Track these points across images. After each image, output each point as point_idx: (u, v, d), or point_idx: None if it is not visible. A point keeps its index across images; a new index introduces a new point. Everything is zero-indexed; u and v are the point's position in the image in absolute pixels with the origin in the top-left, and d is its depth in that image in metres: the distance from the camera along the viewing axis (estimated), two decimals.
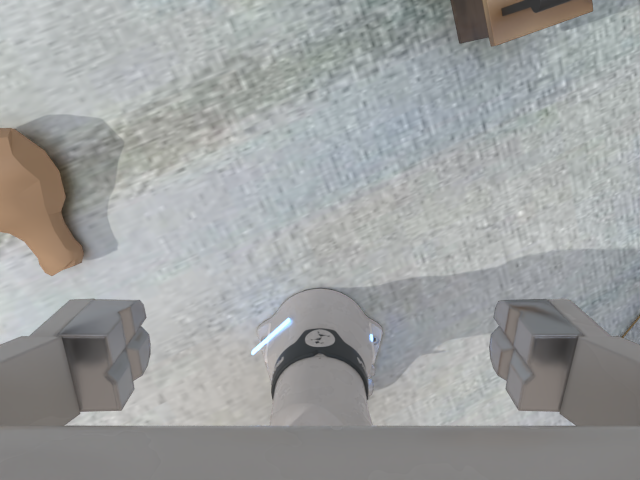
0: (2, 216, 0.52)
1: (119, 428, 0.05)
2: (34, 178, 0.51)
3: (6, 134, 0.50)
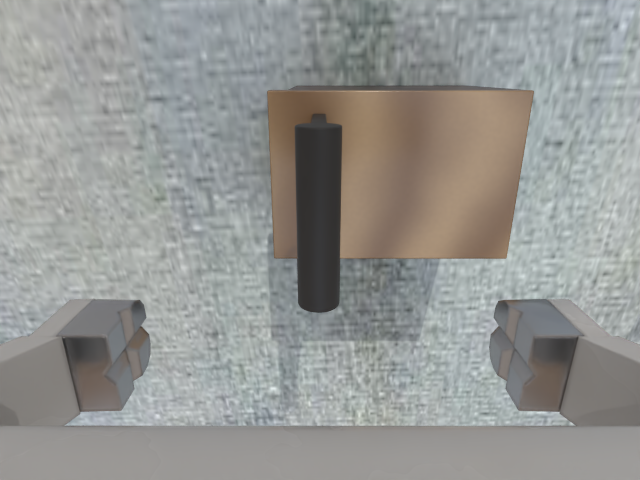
0: None
1: (119, 428, 0.05)
2: None
3: None
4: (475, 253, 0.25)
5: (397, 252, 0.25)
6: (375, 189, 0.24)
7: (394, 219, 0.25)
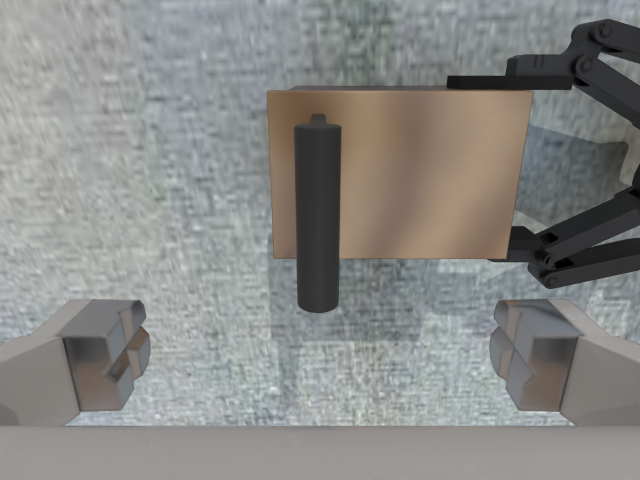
0: None
1: (119, 428, 0.05)
2: None
3: None
4: (475, 253, 0.25)
5: (397, 252, 0.25)
6: (375, 190, 0.24)
7: (394, 219, 0.25)
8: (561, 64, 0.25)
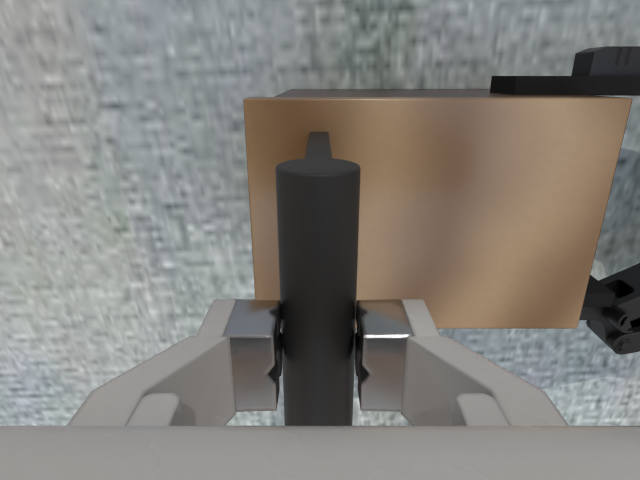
0: None
1: (119, 428, 0.05)
2: None
3: None
4: (534, 321, 0.18)
5: None
6: (399, 237, 0.17)
7: (424, 277, 0.18)
8: None
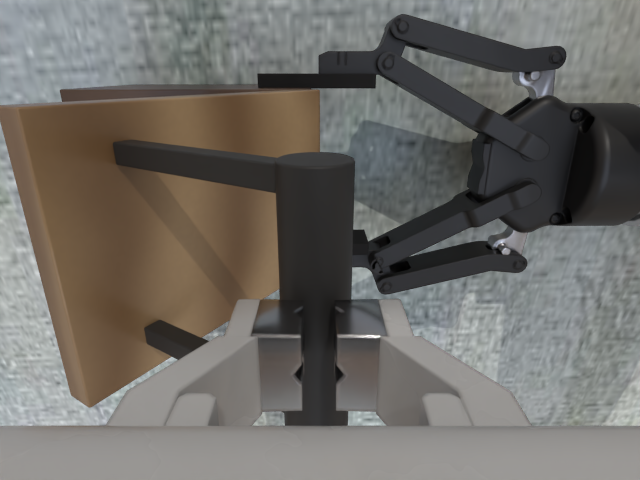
0: None
1: (119, 428, 0.05)
2: None
3: None
4: None
5: None
6: (210, 235, 0.17)
7: (234, 265, 0.19)
8: (365, 61, 0.24)
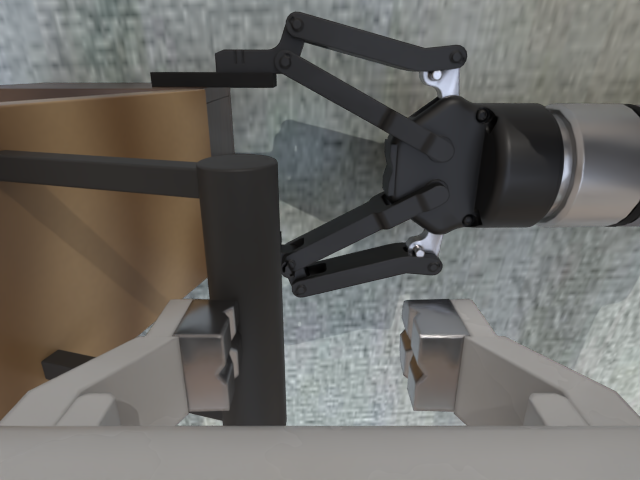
0: None
1: (119, 428, 0.05)
2: None
3: None
4: (203, 275, 0.22)
5: (147, 319, 0.18)
6: (107, 250, 0.16)
7: (135, 279, 0.17)
8: (263, 60, 0.24)
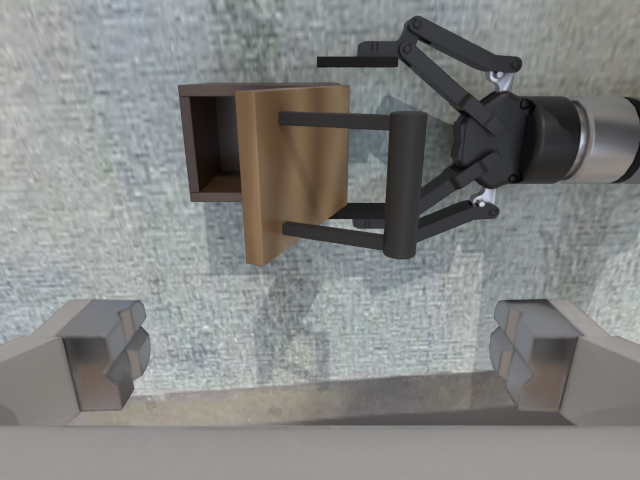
0: None
1: (119, 428, 0.05)
2: None
3: None
4: (339, 206, 0.34)
5: (315, 222, 0.30)
6: (306, 173, 0.28)
7: (313, 195, 0.29)
8: (391, 48, 0.35)
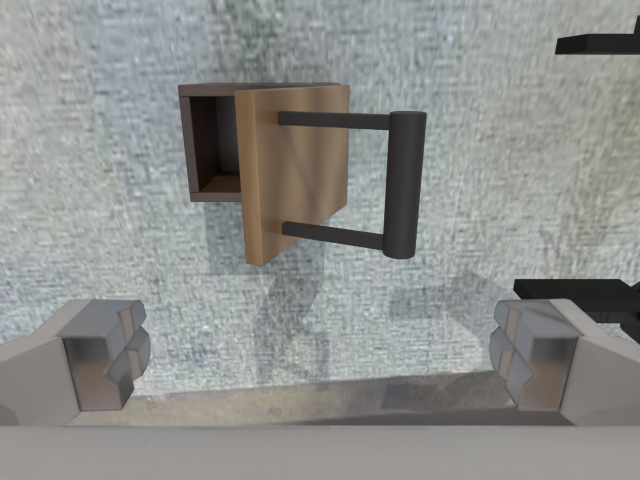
0: None
1: (119, 428, 0.05)
2: None
3: None
4: (339, 206, 0.34)
5: (315, 222, 0.30)
6: (306, 173, 0.28)
7: (313, 195, 0.29)
8: None
